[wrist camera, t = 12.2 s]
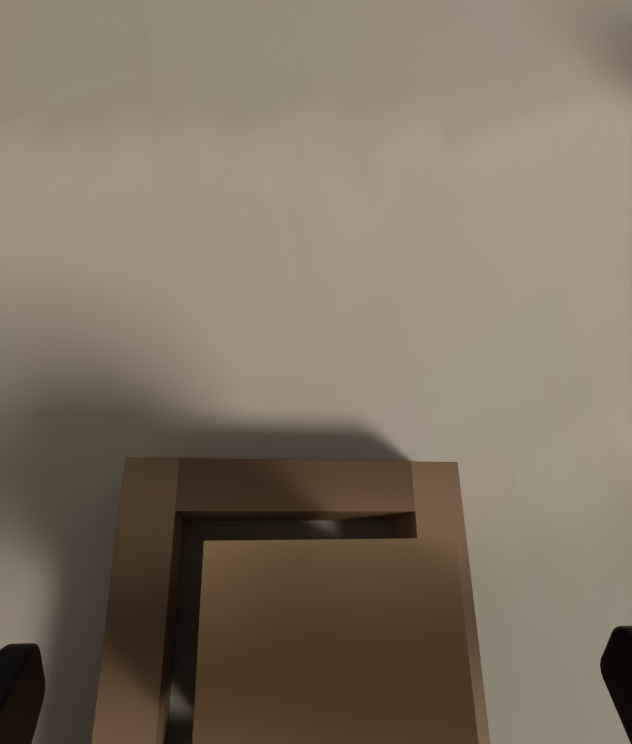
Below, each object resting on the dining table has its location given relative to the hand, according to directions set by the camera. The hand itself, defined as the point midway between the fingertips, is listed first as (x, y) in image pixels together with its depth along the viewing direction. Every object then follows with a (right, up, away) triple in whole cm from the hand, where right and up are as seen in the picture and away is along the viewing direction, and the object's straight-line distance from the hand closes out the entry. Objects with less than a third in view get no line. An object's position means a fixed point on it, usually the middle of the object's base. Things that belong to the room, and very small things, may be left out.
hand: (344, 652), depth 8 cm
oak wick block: (-1, -4, +8) cm, 9 cm away
